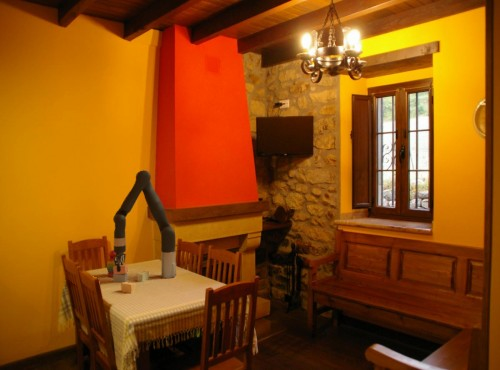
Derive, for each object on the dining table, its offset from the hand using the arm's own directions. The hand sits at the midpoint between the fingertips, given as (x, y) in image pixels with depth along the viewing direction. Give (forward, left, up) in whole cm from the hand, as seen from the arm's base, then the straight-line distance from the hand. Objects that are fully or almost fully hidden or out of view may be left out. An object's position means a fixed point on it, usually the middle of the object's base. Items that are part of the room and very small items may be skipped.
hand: (120, 270), depth 263 cm
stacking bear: (+10, -14, -7) cm, 19 cm away
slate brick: (0, 0, -7) cm, 7 cm away
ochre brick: (-14, +21, -7) cm, 26 cm away
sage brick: (-14, -4, -7) cm, 16 cm away
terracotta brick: (-1, 0, -2) cm, 2 cm away
